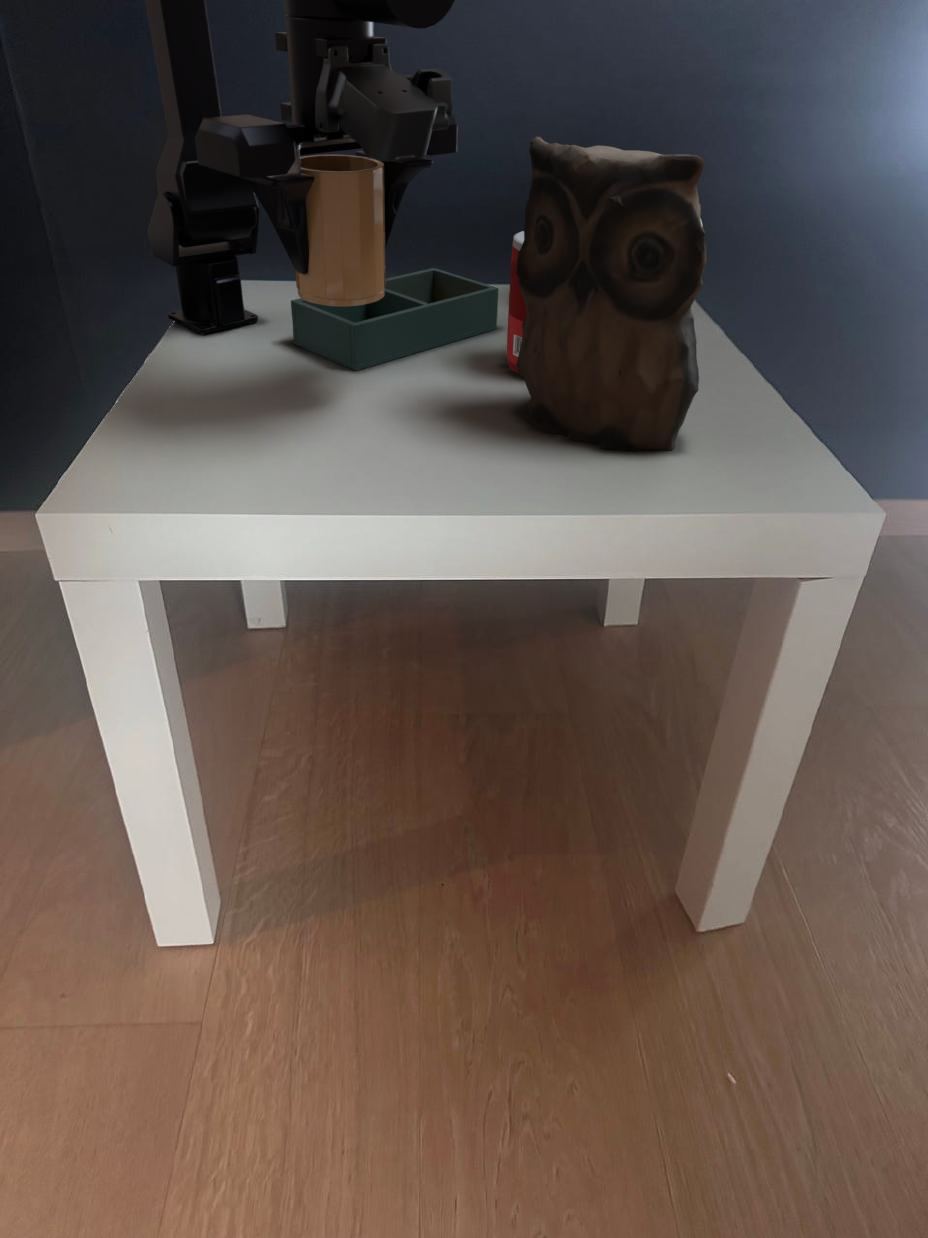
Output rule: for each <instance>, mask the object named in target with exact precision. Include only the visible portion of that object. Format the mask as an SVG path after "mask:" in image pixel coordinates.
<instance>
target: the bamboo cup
mask: <svg viewBox="0 0 928 1238" xmlns="http://www.w3.org/2000/svg"><path fill="white" fill-rule="evenodd" d="M300 163H301V173H303V174H307V175H310V176H314V177H315V179H314V182H313V184H312V186H311V188H310V190H309V192H308V194H307V197H306V213H307V228H308V243H309V265H308V273H307V274H304V275H303V274H300V273H298V272H297V271H296V270H295V269H294V271H295V283H296V285H295V286H296V288H297V294H298V298H299V299H300V298H302V299H303V300H305V301H308V302H311V303H315V304H319V305H326V306H358V305H365V304H369V303H373V302H376V301H378V300H380V299H382V298H383V297H384V295H385V286H386V279H387V278H386V277H387V276H386V249H385V206H384V164H383V163H382V162H380V161H378V160H375V159H372V158H368V157H361V156H356V155H354V154H353V155H352V154H311V155H302V156H300Z"/></svg>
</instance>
